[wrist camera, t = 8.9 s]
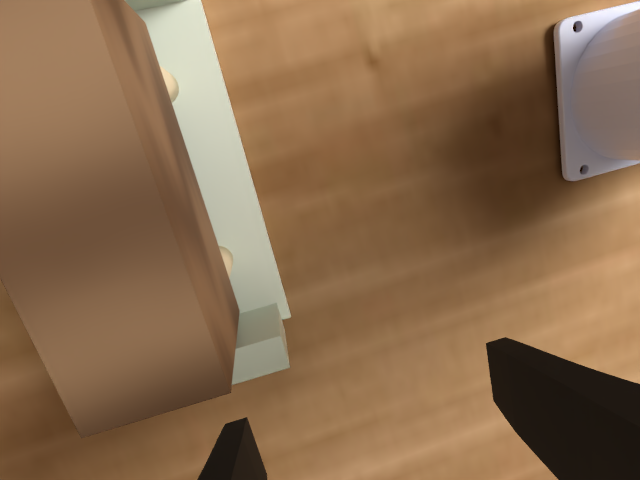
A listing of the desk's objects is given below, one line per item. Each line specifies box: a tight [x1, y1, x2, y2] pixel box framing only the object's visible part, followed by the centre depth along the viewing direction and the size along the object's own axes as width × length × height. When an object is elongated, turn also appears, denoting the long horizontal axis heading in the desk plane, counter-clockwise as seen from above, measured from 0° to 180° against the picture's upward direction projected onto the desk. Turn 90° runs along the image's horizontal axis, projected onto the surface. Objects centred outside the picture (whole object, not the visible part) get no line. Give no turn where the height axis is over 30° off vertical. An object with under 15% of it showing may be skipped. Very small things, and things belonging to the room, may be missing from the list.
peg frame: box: [124, 0, 291, 385], centre depth 16 cm, size 17×8×4 cm, turn 13°
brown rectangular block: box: [0, 0, 240, 438], centre depth 13 cm, size 12×4×6 cm, turn 13°
